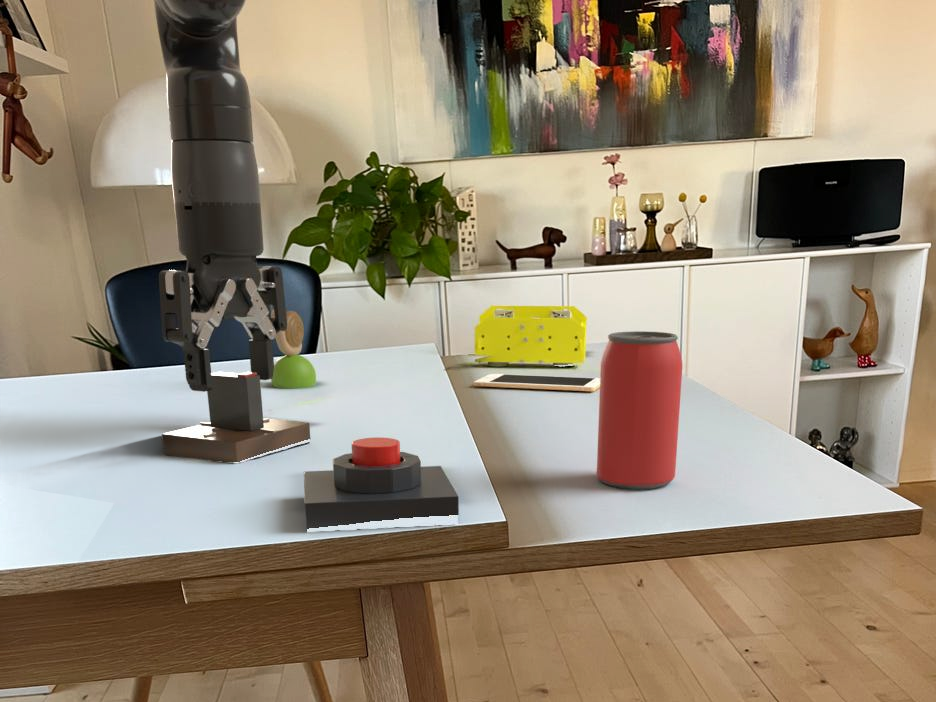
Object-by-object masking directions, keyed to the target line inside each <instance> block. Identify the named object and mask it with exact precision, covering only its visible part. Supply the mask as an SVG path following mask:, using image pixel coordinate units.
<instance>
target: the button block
mask: <svg viewBox="0 0 936 702" xmlns="http://www.w3.org/2000/svg"><path fill="white" fill-rule="evenodd" d="M303 490H304V513H305V527H306V528H307V529H309V528H319V527H328V526H338V525H349V524H356V523H364V522H370V521H382V520H394V519H399V518H413V517H429V516H449V515H459V516H460V510H459V509H460V505H459V499H460V497H459V495H458V493H457V492H456V490H455V488H454V486H453V485H452V482H451V481H450V480H449V478H448V476H447V474H446V473H445V470H444V469H443V467H442V465H429V466H428V465H427V466H422V463H421V459H420V457H419V456H418V455H417V454H413V453H409V452H405V451H400V463H399V464H393V465H388V466H361V465H355V464H353V463H352V452H350V453H344V454H342V455H339V456H337V457H335V458H332V469H331V470H309V471H303ZM306 528H305V529H306ZM307 529H306V530H307Z"/></svg>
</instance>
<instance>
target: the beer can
mask: <svg viewBox="0 0 936 702" xmlns="http://www.w3.org/2000/svg"><path fill="white" fill-rule="evenodd" d="M607 338H608V341H607V344H606V346H605V348H604V351H603V353H602V356H601V361H600V374H599V375H600V377H599V378H600V387H599V403H598V404H599V405H598V427H597V428H598V429H597V430H598V431H597V452H596V453H597V455H596V456H597V457H596V459H597V460H596V476H597V478H598V480H599V481H601V482H602V483H603V484H604V485H608V486H611V487H613V488H620V489H626V490H649V489H650V490H651V489H658V488H662V487H665V486H668V484H670V483H671V482H672V481H673V480H674V479H675V477H676V468H677V455H678V454H677V453H678V439H679V437H678V436H679V424H680V423H679V422H680V408H681V396H682V395H681V394H682V379H683V359H682V354H681V350H680V347H679V344H678V340H679V337H678V335H677V334H675V333H671V332H664V331H646V330H645V331H641V330H639V331H638V330H637V331H636V330H635V331H618V332H612V333H610V334H608V335H607Z"/></svg>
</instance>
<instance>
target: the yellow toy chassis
mask: <svg viewBox="0 0 936 702" xmlns="http://www.w3.org/2000/svg"><path fill="white" fill-rule="evenodd" d="M587 319H588V318H587V315H585V314H584V313H583V312H582V311H581V310H580V309H578V308H577V307H576V306H575V305H490V306H489V307H488V308H486V310H484V311H483V312H482V313H481V314H479V316H478V320H479V321H478V324H477V325H476V326H474V356H484V357H480V358H475V359H474V362H475V363H478V364H480V363H487V366H489V367H507V366H509V363H520V364H524V363H533V364H534V363H538V364H539V365H542V364H544V363H545V364H547V363H548V364H552V366H553V365H568V364H573V363H574V364H579V365H582V364H584V363H585V359H586V350H587V349H586V348H587Z"/></svg>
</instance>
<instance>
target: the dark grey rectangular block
mask: <svg viewBox="0 0 936 702" xmlns="http://www.w3.org/2000/svg"><path fill="white" fill-rule="evenodd" d="M211 375H212V389H211V390H210V391H206V393H207V394H206V395H207V402H208V412H209V422H210V423H211V427H216V428H225V429H234V430H243V431H254V430H258V429H262V428H264V422H263V418H264V413H263V411H264V410H263V399H262V388H261V387H262V386H261V380H260V376H259V375H257V373H256V372H251V371H247V372H246V371H245V372H241V373H239V372H237V373H236V372H224V371H217V372H213V373H212V372H211Z"/></svg>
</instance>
